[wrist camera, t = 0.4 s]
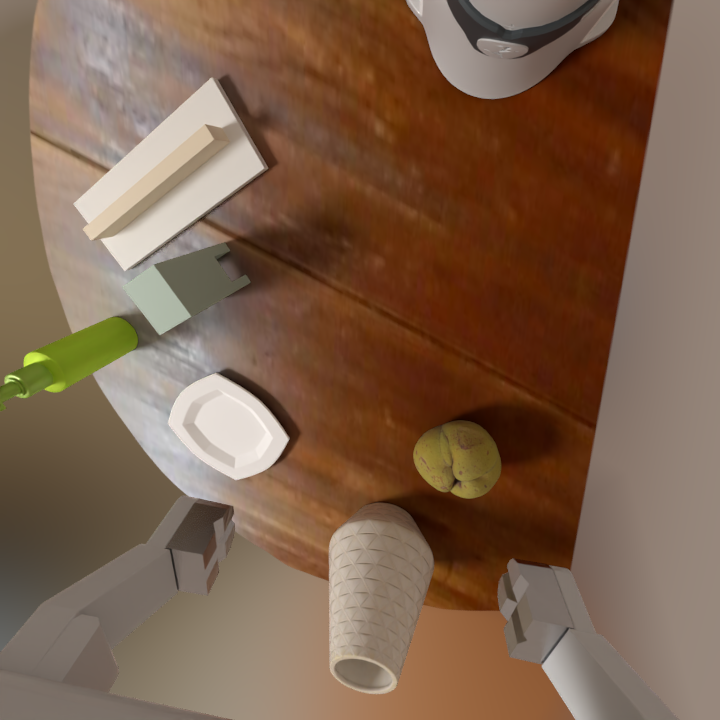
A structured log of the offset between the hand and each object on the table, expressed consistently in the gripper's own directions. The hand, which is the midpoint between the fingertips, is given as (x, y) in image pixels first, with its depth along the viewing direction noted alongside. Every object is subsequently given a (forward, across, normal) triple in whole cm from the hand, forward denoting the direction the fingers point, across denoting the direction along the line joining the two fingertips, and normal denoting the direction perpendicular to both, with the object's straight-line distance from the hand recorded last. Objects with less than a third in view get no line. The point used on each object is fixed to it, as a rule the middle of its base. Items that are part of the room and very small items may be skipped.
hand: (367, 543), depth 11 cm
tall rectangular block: (+41, +23, +6) cm, 47 cm away
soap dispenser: (+42, +42, +19) cm, 62 cm away
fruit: (+39, -13, +25) cm, 48 cm away
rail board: (+41, +30, -4) cm, 52 cm away
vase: (+39, -6, +47) cm, 61 cm away
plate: (+41, +24, +33) cm, 58 cm away
